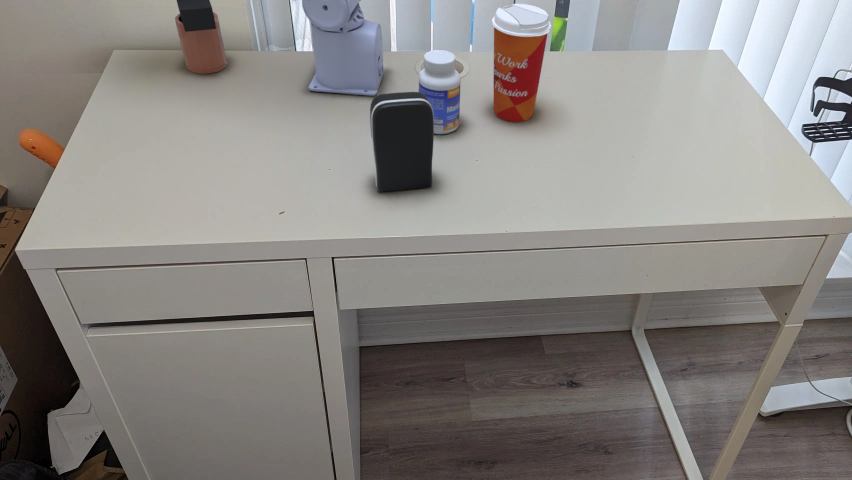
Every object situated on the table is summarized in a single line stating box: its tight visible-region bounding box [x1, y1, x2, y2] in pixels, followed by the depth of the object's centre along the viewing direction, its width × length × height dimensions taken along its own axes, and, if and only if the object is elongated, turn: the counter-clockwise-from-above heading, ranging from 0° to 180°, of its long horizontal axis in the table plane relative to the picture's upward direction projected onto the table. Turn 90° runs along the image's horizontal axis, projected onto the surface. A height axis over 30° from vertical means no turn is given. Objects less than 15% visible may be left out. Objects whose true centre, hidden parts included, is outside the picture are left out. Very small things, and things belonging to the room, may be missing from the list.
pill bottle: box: [418, 49, 461, 135], centre depth 94 cm, size 5×5×10 cm
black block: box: [176, 0, 216, 32], centre depth 99 cm, size 9×4×3 cm, turn 24°
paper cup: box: [491, 3, 552, 123], centre depth 97 cm, size 8×8×14 cm
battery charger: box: [369, 91, 435, 192], centre depth 83 cm, size 7×4×11 cm, turn 106°
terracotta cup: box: [174, 11, 228, 75], centre depth 103 cm, size 6×6×7 cm
